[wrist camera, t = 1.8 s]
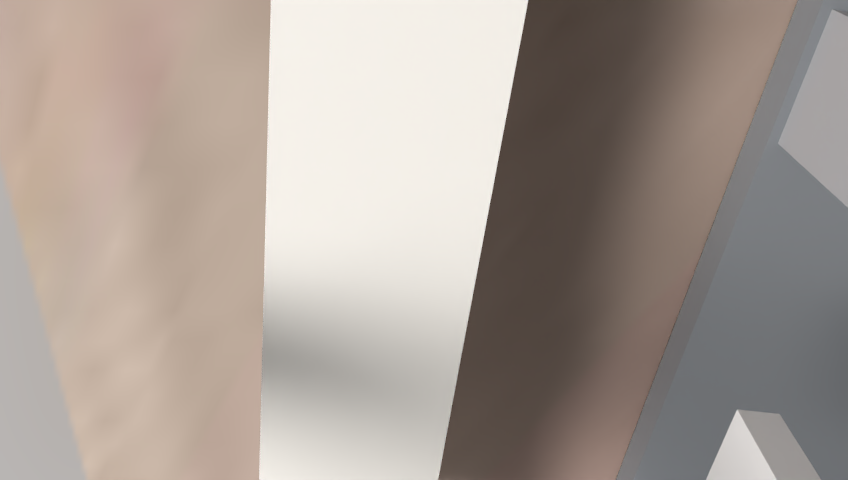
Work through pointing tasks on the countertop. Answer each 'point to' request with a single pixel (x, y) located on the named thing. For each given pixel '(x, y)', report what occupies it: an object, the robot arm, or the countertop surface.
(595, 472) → the countertop surface
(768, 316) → the bracket stand
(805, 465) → the robot arm
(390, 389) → the rail
